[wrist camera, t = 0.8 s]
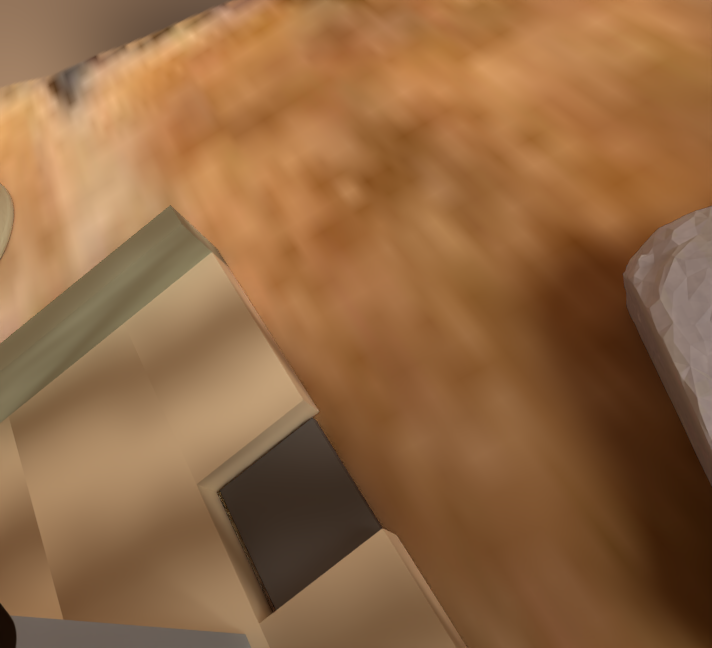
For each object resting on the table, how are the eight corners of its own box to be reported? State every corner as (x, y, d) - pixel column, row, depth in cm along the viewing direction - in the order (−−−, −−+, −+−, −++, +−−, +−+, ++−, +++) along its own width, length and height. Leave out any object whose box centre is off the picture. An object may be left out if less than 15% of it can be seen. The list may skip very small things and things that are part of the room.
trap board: (524, 738, 17) (497, 752, 14) (60, 1085, 17) (-49, 1160, 15) (217, 248, 28) (170, 205, 25) (-55, 468, 29) (-128, 447, 26)
